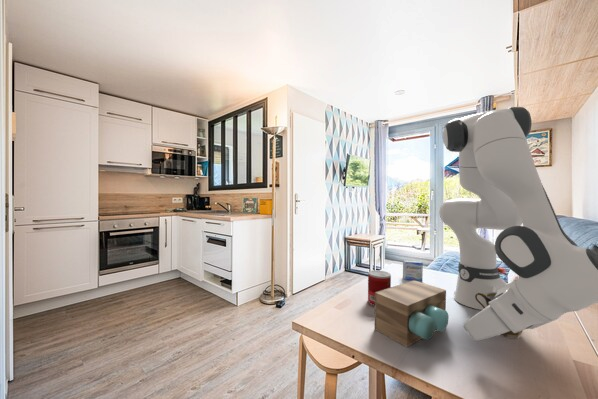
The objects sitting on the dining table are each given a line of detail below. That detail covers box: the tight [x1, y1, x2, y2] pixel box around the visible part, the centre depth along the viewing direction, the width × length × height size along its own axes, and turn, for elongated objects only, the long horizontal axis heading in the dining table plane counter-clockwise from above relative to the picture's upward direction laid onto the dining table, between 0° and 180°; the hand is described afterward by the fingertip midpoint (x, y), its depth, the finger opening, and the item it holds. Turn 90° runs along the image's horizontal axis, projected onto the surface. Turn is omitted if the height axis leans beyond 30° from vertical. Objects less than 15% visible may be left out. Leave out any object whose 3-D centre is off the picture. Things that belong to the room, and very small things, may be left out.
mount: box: [374, 280, 447, 348], centre depth 74 cm, size 20×15×11 cm
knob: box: [424, 305, 450, 333], centre depth 74 cm, size 6×14×6 cm, turn 34°
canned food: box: [367, 270, 392, 306], centre depth 93 cm, size 8×8×11 cm
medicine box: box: [402, 259, 424, 282], centre depth 120 cm, size 8×4×9 cm, turn 81°
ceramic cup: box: [475, 292, 523, 340], centre depth 75 cm, size 13×10×10 cm
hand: (470, 329), depth 62 cm, fingers closed
